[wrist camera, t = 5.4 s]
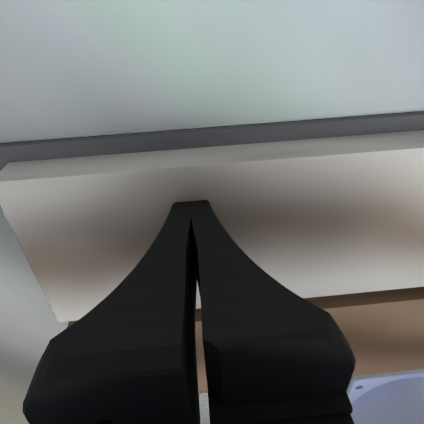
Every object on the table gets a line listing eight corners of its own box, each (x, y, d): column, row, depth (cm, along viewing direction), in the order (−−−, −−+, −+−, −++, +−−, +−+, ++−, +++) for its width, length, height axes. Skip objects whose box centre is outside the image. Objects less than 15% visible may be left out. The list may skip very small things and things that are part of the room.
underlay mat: (459, 336, 21) (462, 340, 21) (97, 373, 20) (96, 378, 20) (612, 97, 12) (621, 99, 12) (-9, 144, 11) (-14, 147, 11)
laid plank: (455, 341, 21) (472, 363, 19) (104, 377, 20) (99, 403, 18) (502, 266, 17) (528, 288, 16) (73, 308, 16) (64, 334, 15)
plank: (510, 253, 16) (537, 275, 15) (68, 295, 15) (58, 322, 14) (597, 116, 12) (644, 129, 11) (9, 162, 11) (-12, 182, 10)
